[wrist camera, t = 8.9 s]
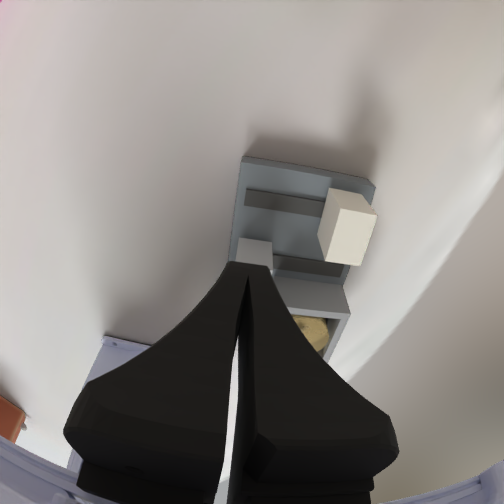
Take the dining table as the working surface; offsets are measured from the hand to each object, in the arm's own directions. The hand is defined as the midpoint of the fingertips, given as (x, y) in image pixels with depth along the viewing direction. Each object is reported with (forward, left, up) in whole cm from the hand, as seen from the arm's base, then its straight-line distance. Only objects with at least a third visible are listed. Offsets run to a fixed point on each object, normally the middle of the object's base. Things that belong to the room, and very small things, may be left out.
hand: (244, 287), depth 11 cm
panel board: (+3, -4, -10) cm, 11 cm away
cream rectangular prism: (+5, 0, -8) cm, 9 cm away
